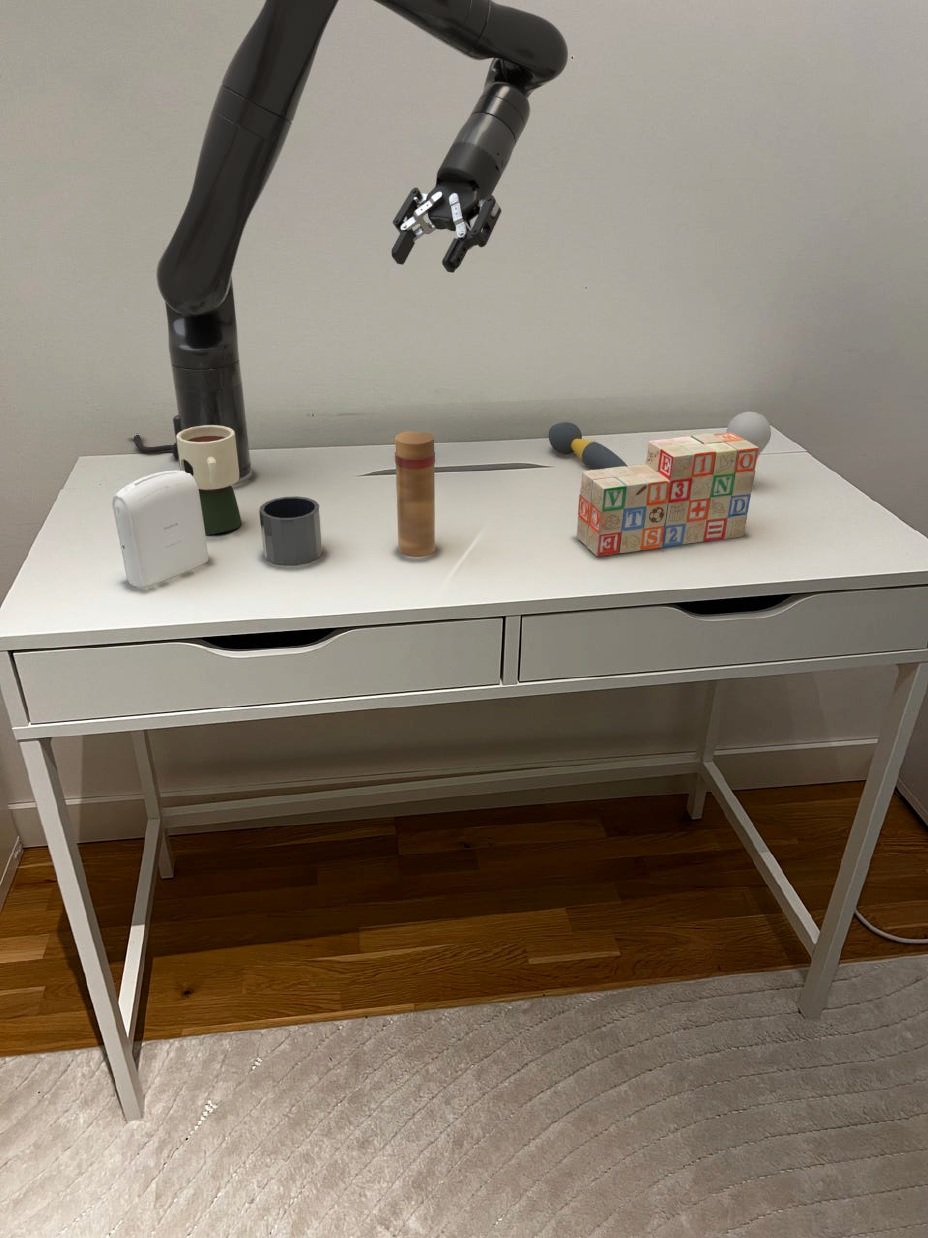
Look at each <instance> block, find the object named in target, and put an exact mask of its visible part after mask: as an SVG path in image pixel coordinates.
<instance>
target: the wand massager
mask: <svg viewBox="0 0 928 1238" xmlns="http://www.w3.org/2000/svg"><path fill="white" fill-rule="evenodd" d="M547 436H548V441H549V444H550V447H551V448H552V450H553V451H554V452H556V453H558V454H560V455H570V454H573V453H574V454H575V455H576V456H577V457H578V459H579V460H580V461H581V462H582V463H583V464H585V465H586V466H588V467H589V468H591V469H592V470H598V469H605V468H614V467H622V466H628V464H626V462H625V461H624V460H623V459H622V458H621V457H620V456H618V455H617V454H616V453H615V452H614V451H612V450H611V449H609V448H608V447H607V446H604V445H603V444H601V443H600V442H597V441H594V440H589V439H583V435H582V431H581V429H580V428H579V426H577V424H575V423H573V422H569V421H564V422H559V423H555V424H552V425H551V426H550V428H549V430H548V435H547Z"/></svg>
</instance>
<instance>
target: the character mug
mask: <svg viewBox="0 0 928 1238" xmlns="http://www.w3.org/2000/svg"><path fill="white" fill-rule="evenodd" d="M176 438H177V445H178V452H179V458H178V461H179V460H180V465H179V469H180V468H181V471H185V472H186V473H190V474H191V475H192V476H193V478H194V479H195V481H196V483H197V486H198V490H199V496H200V502H201V509H202V515H203V522H204V528H205V535H206V536H210V535H215V534H221V533H226V532H229V531H230V532H231V531H233V530H235V529H238V528H240V526H241V525H242V524H243V522H242V518H241V514H240V509H239V505H238V502H237V498H236V494H235V490H234V488H233V487H232V486H234V485H233V484H235V483H236V482H237V481H238V480H239V466H238V457H237V448H236V440H235V432H234V431H233V430H232V429H231V428H228V427H225V426H217V425H204V426H197V427H191V428H188V429H185V430H183V431H181V432H179V433H178V434H177V436H176ZM176 438H175V439H176ZM231 485H232V486H231Z"/></svg>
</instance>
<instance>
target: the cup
mask: <svg viewBox="0 0 928 1238" xmlns="http://www.w3.org/2000/svg"><path fill="white" fill-rule="evenodd" d="M258 513H259V521H260V522H259V523H260V532H261V540H262V541H261V542H262V550H263V556H264V558H265V559H266V561H267V562H269V563H272V564H274V565H277V566H285V567H287V566H288V567H290V566H291V567H293V566H301V565H306V564H309V563H312V562H314V561H317V560H318V559H320V557H321V556H322V555H323V549H324V548H323V536H322V522H321V508H320V504H319V503H318V502H317V501H316V500H314V499H313V498H312V499H311V498H310V497H304V496H296V495H295V496H283V497H282V496H281V497H277V498H273V499H269V500H267V501H266V502H264V503H262V504H261V505H260V507H259V511H258Z"/></svg>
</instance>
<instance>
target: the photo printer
mask: <svg viewBox="0 0 928 1238" xmlns="http://www.w3.org/2000/svg"><path fill="white" fill-rule="evenodd" d="M111 502H112V503H111V504H112V505H111V507H112V510H113V517H114V520H115V521H114V522H115V526H116V530H117V535H118V541H119V546H120V551H121V556H122V559H123V560H122V562H123V567H124V572H125V576H126V578H127V580H128V583H129V584H130V585H131V586H135V587H141V588H147V587H150V586H154V585H157V584H159V583H162V582H164V581H167V580H169V579H172V578H174V577H176V576H179V575H181V574H184V573H187V572H189V571H191V570H193V569H195V568H198V567H200V566H202V565H204V564H206V563H208V562H209V550H208V543H207V535H206V534H205V528H204V522H203V515H202V509H201V502H200V496H199V490H198V486H197V483H196V481H195V479H194V478H193V476H192V475H191V474H190V473H186V472H185V471H180V470H165V471H159V472H155V473H151V474H147V475H145V476H143V477H141V478H138V479H136V480H134V481H132V482H130V483H128V484H127V485H126V486H124V487H123V488H121V489H120V490H119V491H117V492H116V493H115V494H114V495H113V497H112V501H111Z"/></svg>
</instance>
